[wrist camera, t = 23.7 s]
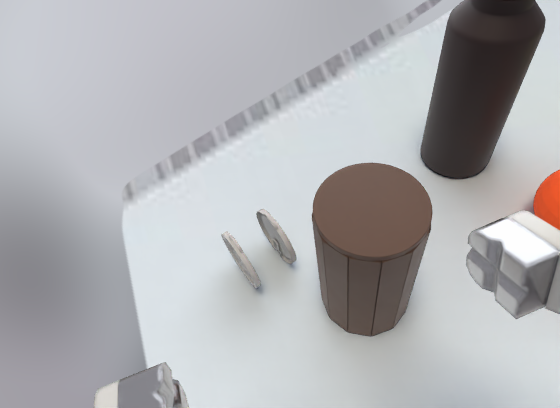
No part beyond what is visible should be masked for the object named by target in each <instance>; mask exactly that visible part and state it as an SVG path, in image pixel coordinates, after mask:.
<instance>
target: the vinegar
mask: <svg viewBox="0 0 560 408" xmlns="http://www.w3.org/2000/svg"><path fill="white" fill-rule="evenodd" d="M544 28H545V16H544V14H543V13H542V11H541V9H540V7H539V6H538V4H537V3H536V1H535V0H464V1H463V2H461V3H460V4H459V5H458V6H457V7H456V8H455V9H453V10H452V12H451V13H450V16H449V19H448V22H447V26H446V31H445V36H444V41H443V45H442V50H441V55H440V60H439V64H438V69H437V74H436V79H435V83H434V88H433V93H432V97H431V102H430V107H429V112H428V116H427V121H426V126H425V131H424V135H423V140H422V145H421V155H422V159H423V160H424V162H425V164H426V165H427V166H428V167H429V168H431V169H432V170H433V171H435V172H437V173H439V174H441V175H444V176H449V177H453V178H465V177H469V176H472V175H475V174H477V173H479V172H480V171H482V170H483V169H484V168H485V166H486V165H487V164H488V162H489V160H490V158H491V155H492V153H493V151H494V148H495V146H496V143H497V141H498V139H499V136H500V134H501V132H502V129H503V127H504V124H505V122H506V120H507V117H508V115H509V113H510V110H511V108H512V105H513V103H514V101H515V98H516V96H517V93H518V91H519V89H520V86H521V84H522V82H523V79H524V77H525V74H526V72H527V70H528V67H529V65H530V63H531V60H532V58H533V55H534V53H535V51H536V48H537V46H538V44H539V41H540V39H541V36H542V34H543V32H544Z"/></svg>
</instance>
